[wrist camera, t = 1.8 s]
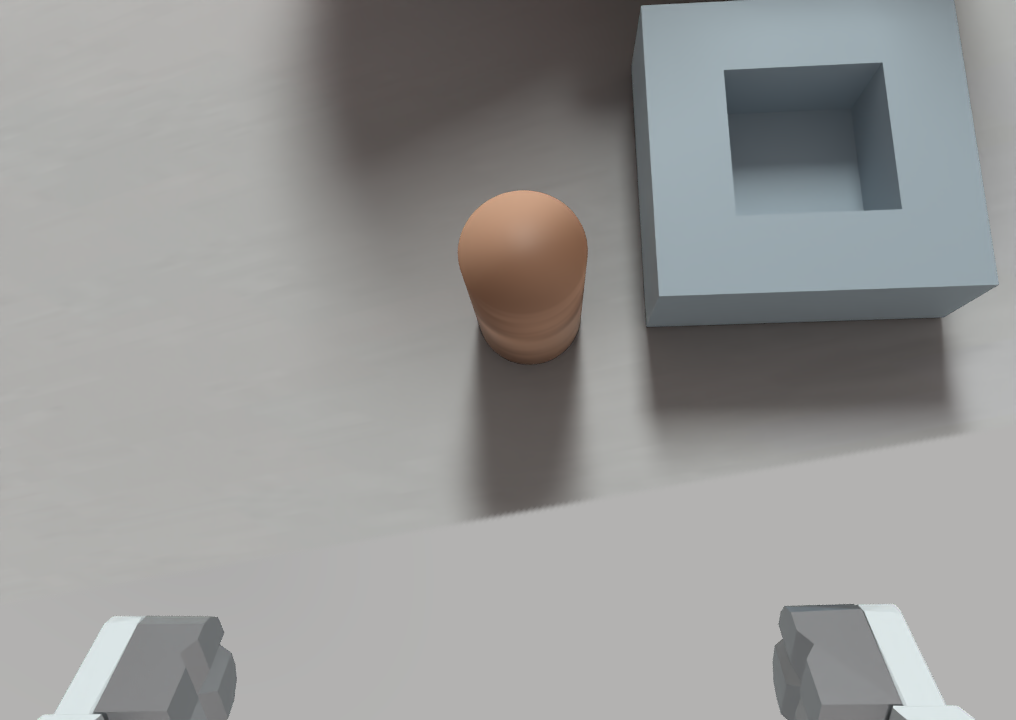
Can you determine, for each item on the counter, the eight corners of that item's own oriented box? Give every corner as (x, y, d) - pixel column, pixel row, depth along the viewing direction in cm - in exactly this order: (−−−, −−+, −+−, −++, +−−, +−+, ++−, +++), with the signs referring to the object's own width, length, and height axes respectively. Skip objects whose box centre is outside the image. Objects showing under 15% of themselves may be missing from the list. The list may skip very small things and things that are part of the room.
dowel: (460, 299, 41) (434, 231, 32) (546, 248, 41) (543, 167, 33) (512, 383, 40) (500, 337, 31) (600, 330, 40) (612, 270, 31)
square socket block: (943, 317, 39) (998, 284, 34) (646, 326, 40) (659, 296, 35) (906, 53, 42) (952, -11, 37) (631, 66, 43) (641, 5, 38)
